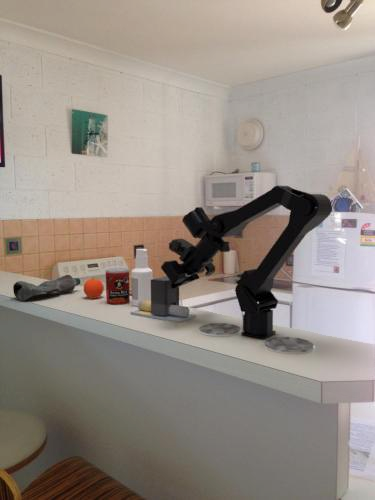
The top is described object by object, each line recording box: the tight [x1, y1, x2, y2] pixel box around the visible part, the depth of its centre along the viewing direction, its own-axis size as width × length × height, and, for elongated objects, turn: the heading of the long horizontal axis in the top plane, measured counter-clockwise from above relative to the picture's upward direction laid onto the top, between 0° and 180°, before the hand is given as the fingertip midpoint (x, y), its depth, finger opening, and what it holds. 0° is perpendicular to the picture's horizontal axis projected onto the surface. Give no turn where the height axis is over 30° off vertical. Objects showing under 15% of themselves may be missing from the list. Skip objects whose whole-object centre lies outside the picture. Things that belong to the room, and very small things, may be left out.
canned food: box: [105, 267, 131, 306], centre depth 153 cm, size 8×8×11 cm
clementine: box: [83, 277, 106, 299], centre depth 161 cm, size 8×7×7 cm
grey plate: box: [130, 300, 197, 324], centre depth 134 cm, size 18×8×4 cm, turn 54°
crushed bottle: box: [12, 274, 81, 302], centre depth 166 cm, size 13×7×25 cm
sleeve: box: [151, 276, 180, 316], centre depth 134 cm, size 5×7×10 cm
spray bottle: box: [130, 248, 154, 307], centre depth 149 cm, size 7×7×18 cm
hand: (172, 287), depth 132 cm, fingers closed, pressing on sleeve
